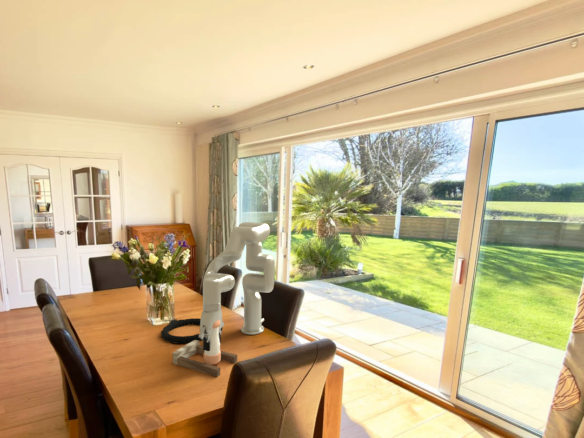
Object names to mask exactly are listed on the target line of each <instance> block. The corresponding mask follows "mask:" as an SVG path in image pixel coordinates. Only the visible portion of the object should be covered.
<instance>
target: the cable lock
mask: <svg viewBox="0 0 584 438" xmlns="http://www.w3.org/2000/svg"><path fill="white" fill-rule="evenodd" d="M200 321H201V318H184V319H182V318H181V319H177V318H176V319H174V318H173V319H171V320H170V321H169V323H168V324H167V325H165V326H164V327H163V329H162V330H161V332H160V336H161V338H162V339H163V340H164V341H165V342H169V343H172V344H178V345H179V344H183V345H184V344H189V343H190V342H192V341H194V340H198V341H199V342H201V341H202V340H201V339H200V338H199V334H200V333H196V334H192V335H185V336H181V335H174V334H171V333H170V332H171V331H172V330H174V328H175V329H177V328H180V327H184V326H192V325H193V326H194V325H195V326H196V325H197V326H200ZM205 338H206V337H205Z"/></svg>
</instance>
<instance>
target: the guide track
mask: <svg viewBox="0 0 584 438" xmlns="http://www.w3.org/2000/svg"><path fill="white" fill-rule="evenodd" d="M220 351H221V360H220V361H223V362H228V363H231V364H236V363H238V355H237V354H235V353H231V352H227V351H223V350H220ZM204 352H205V351H204V350H203V345H200V341H198V340H194V341H192V342H190V343H186V344H185V345H184V346H181V347H180V348H177V349H176V350H175V351H173V352H172V364H173V365H177V366H179V367H182V368H186V369H189V370H192V371H195V372H199V373H201V374H202V373H203V374H206V375H209V376H213V377H216V378H218V377H219V376H220V375H221V367H219V366H216V365H214V364H206V363H204V362H201V361H199V360H196V359H195V360H194V359H191V358H190V357H192V356H194V355H196V354H197V355H198V354H199V355H202V356H204Z"/></svg>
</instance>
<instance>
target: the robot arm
mask: <svg viewBox="0 0 584 438" xmlns="http://www.w3.org/2000/svg"><path fill="white" fill-rule="evenodd" d="M270 234H271V227H270V226H269V224H268V223H266V222H253V221H252V222H249V221H248V222H241V223H239V224H238V226H236V227H234V228H233V229H232V230H231V233H230V236H229V238H228V241H227V243H226V245H225V247H224V250H223V251H222V252H221V253H220V254H218V255H217V256H216V257H215V258H214V259H213V260H212V261H210V263H209V264H208V266H207V268H206V271H205V273H204V276H203V280H202V311H201V314H200V315H201V316H200V319H201V321H200V325H199V333H198V334H199V338H200V339H201V341H202V346H203V350H206V351H210V342H209V339H210V335H211V334H213V332H214V329H215V328H214V329H213V327H212V326H213V324H214V323H215V322H216V321H218V320H219V321H220V326H219V340H220V345H221V342H222V333H223V332H222V331H223V328H224V326H225V322H224V320H223V312H222V293H226V292H229V291H231V290H232V289H233V288H234V287H235V284H236V279H235V277H234V276H233V275H231V274H228V273H222V272H221V273H220V272H219V270H220V269H221V268H223V267H224V266H227V265H228V264H232V263H234V262H236V261H239V260H240V259H241V258H242V256H243V255H242V254H243V252H244V249H245V268H246V269H247V270H248V271H252V273H251V272H249V273H246V274H245V275H244V276H243V277H242V280H241V285H242V292H243V326H241V328H240V331H241V333H243V334H244V335H250V336H252V335H254V336H255V335H259V334H261V333H263V332H264V331H265V327H264V325H262V323H263V322H264V321H265V318H264V317H263V318H262V296H261V294H260V293H267V294H268V293H269V294H270V293H271V292H272V291H273V290H274V288H275V287H274V286H275V268H276V265H275V263H276V262H275V259H274V256H272V255H271V254H265V253H263V251H262V250H263V245H262V242H263V241H266V240H267V239H268V238H269V237H270ZM253 272H261V273H253ZM206 332H207V334H206ZM206 336H207V338H205V337H206Z"/></svg>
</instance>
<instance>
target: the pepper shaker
mask: <svg viewBox="0 0 584 438" xmlns="http://www.w3.org/2000/svg"><path fill="white" fill-rule="evenodd" d="M219 326H220V321H219V320H218V321H216V322H215V323H214V324H213V326H212V327H213V329H214V328H215V329H214V332H213V334H211V335H210V339H209V342H210V351H206V350H204V351H205V352H204V355H203V363H206V364H209V365H216V364H218V363H220V362H221V361H222V360H221V351H222V350H221V344H220V340H219ZM206 334H207V332H206ZM206 338H207V336H206Z"/></svg>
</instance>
